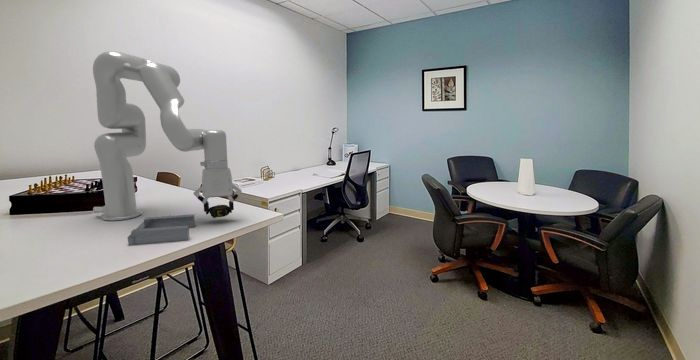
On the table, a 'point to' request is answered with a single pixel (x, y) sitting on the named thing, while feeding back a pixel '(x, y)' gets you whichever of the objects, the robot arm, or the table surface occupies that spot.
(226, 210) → the tape measure
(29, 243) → the table surface
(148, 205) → the table surface
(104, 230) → the table surface
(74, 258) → the table surface
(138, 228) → the c-clamp
